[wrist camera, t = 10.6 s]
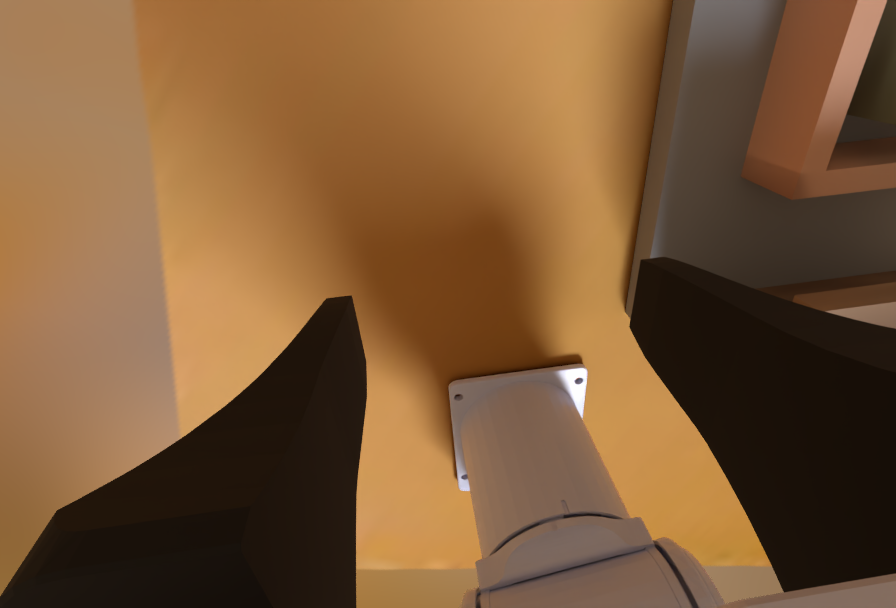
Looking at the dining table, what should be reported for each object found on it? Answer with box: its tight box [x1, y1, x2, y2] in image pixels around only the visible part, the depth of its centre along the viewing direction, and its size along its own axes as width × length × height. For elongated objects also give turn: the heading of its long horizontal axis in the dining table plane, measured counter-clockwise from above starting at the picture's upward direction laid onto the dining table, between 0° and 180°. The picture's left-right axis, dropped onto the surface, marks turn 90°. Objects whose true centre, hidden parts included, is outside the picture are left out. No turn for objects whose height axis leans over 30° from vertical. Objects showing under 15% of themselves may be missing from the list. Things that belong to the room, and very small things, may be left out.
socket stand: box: [625, 0, 896, 319], centre depth 19 cm, size 18×16×4 cm
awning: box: [756, 271, 896, 329], centre depth 19 cm, size 6×14×8 cm, turn 94°
